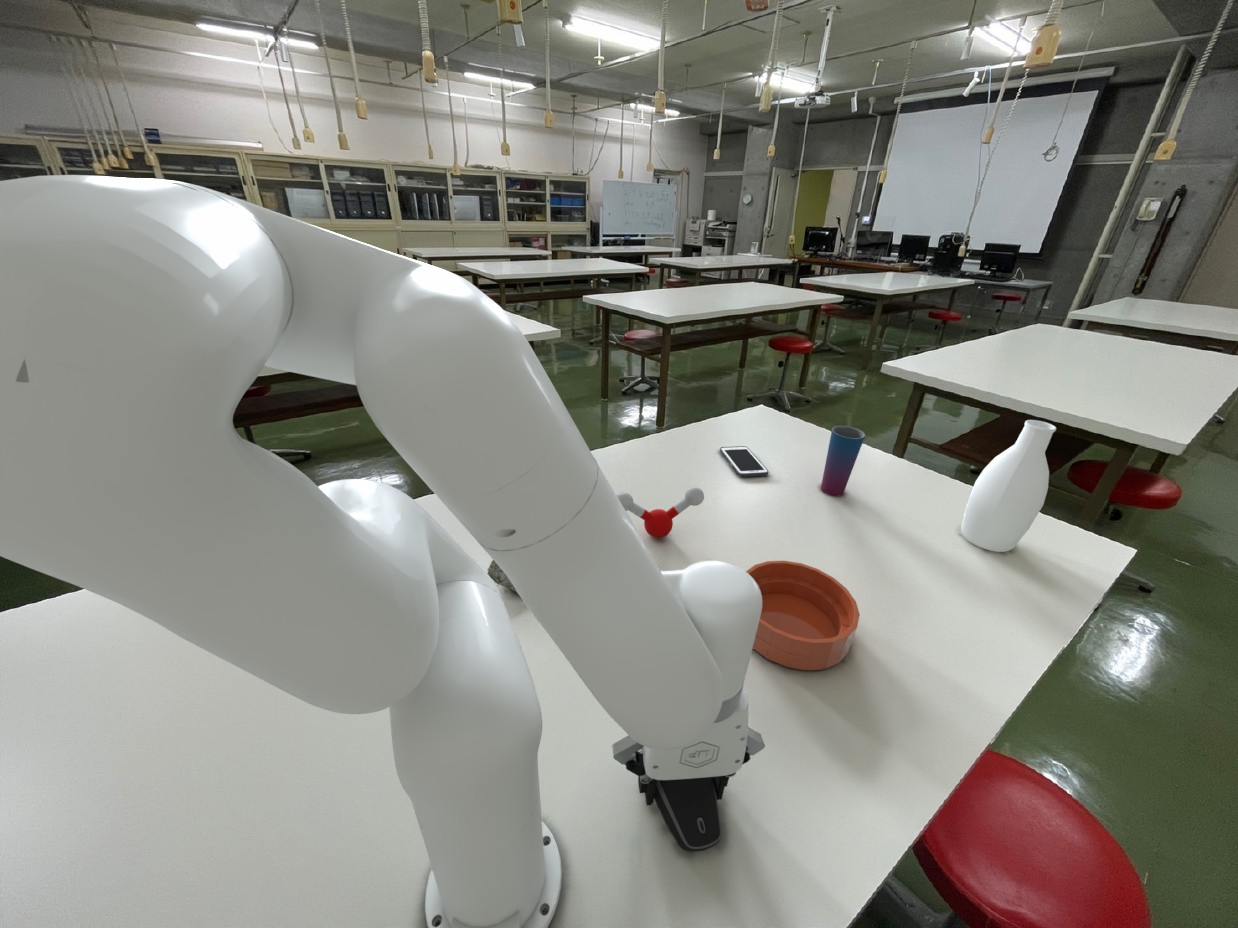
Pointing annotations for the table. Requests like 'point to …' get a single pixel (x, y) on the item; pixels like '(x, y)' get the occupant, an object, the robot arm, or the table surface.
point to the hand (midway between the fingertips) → (681, 788)
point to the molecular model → (661, 511)
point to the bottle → (1009, 491)
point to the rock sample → (499, 576)
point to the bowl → (803, 616)
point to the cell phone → (743, 461)
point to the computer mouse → (690, 811)
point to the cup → (841, 458)
